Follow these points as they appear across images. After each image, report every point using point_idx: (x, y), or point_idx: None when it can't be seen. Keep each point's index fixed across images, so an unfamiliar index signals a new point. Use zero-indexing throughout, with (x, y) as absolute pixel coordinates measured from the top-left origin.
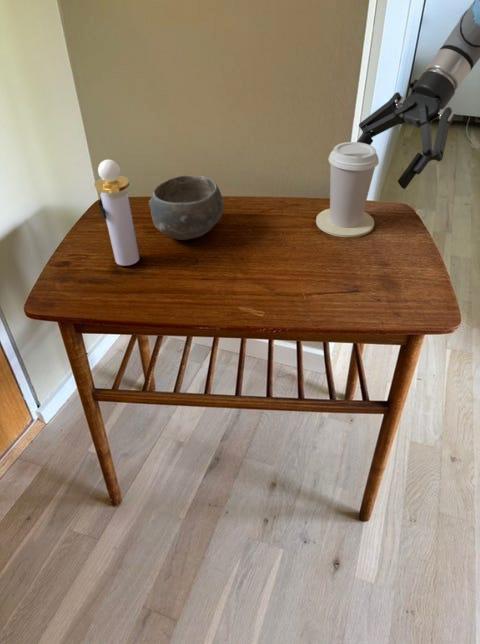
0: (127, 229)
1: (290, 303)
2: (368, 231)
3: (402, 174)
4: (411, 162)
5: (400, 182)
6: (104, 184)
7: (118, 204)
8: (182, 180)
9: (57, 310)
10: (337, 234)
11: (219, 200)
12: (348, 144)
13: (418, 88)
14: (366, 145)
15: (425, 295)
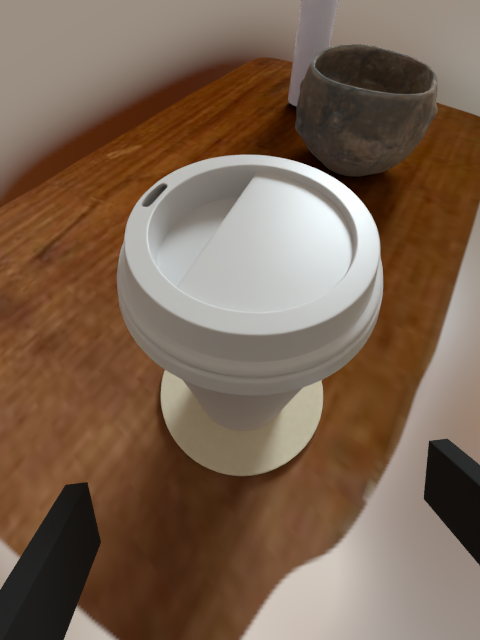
0: (297, 38)
1: (99, 182)
2: (161, 404)
3: (64, 519)
4: (3, 633)
5: (66, 486)
6: None
7: None
8: (430, 86)
9: (249, 65)
10: None
11: (333, 112)
12: (354, 253)
13: None
14: (272, 311)
15: None
